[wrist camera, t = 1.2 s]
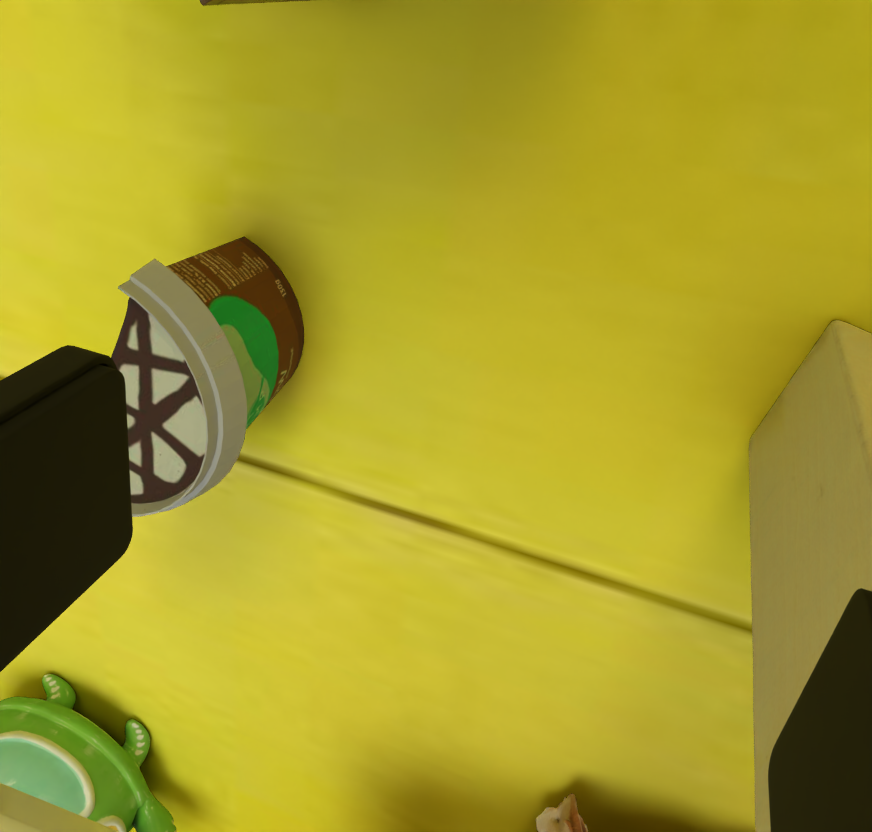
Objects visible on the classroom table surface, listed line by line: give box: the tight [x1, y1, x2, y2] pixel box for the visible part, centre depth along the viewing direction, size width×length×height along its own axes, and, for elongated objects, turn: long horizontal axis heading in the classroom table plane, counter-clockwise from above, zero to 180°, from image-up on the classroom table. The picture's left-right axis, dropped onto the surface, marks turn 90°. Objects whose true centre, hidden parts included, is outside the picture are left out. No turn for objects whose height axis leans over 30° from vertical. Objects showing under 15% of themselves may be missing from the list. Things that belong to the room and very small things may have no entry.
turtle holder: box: [0, 674, 176, 832], centre depth 57 cm, size 12×18×12 cm
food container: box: [111, 237, 304, 517], centre depth 38 cm, size 12×6×10 cm, turn 152°
